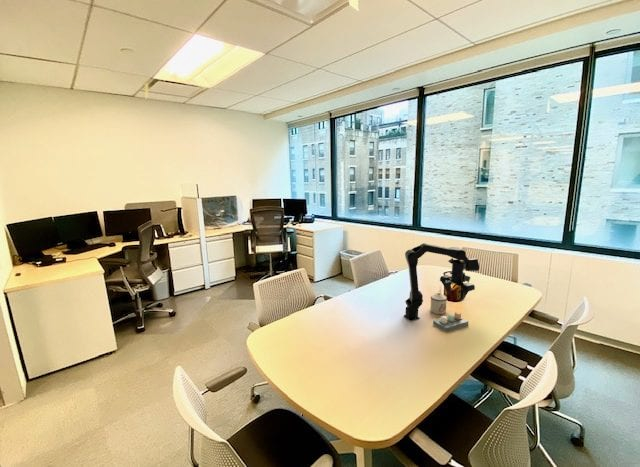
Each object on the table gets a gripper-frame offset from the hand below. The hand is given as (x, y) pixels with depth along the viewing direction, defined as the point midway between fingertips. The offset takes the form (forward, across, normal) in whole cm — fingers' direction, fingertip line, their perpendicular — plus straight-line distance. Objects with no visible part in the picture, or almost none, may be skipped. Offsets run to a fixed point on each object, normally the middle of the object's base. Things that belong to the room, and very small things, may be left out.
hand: (455, 297), depth 166 cm
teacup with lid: (+13, +11, 0) cm, 17 cm away
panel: (+13, -5, +8) cm, 16 cm away
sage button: (+11, -5, +8) cm, 14 cm away
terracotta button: (+11, -5, +3) cm, 12 cm away
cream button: (+11, -4, +13) cm, 17 cm away
